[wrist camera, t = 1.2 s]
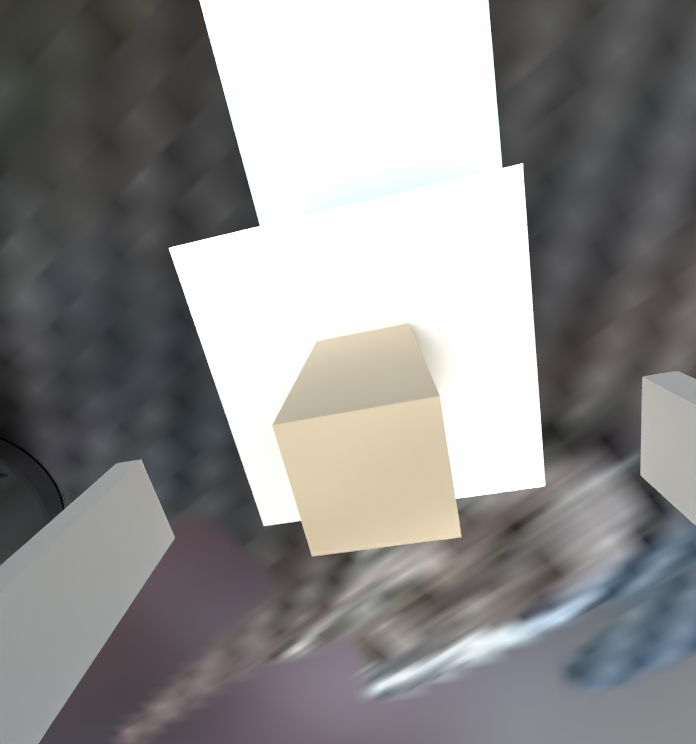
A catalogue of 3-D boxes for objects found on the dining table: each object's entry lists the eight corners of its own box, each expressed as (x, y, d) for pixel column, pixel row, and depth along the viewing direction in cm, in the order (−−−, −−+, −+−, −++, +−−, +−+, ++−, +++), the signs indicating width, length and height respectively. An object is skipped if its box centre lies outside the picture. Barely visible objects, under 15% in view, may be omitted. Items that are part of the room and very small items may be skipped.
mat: (262, 228, 31) (260, 228, 30) (194, -27, 26) (190, -32, 25) (499, 172, 28) (502, 170, 28) (474, -119, 24) (477, -127, 23)
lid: (267, 515, 21) (200, 696, 13) (177, 247, 17) (-11, 258, 9) (538, 476, 19) (662, 656, 11) (515, 166, 15) (689, 83, 7)
